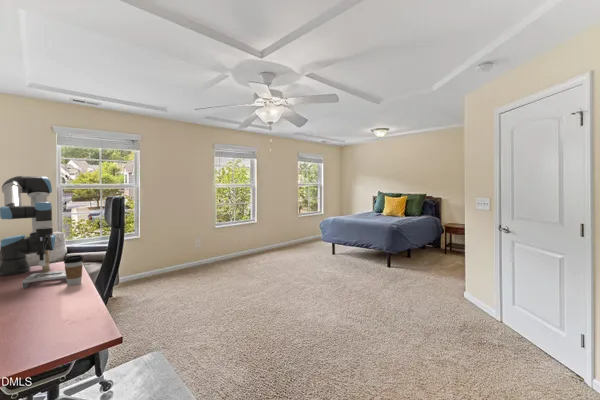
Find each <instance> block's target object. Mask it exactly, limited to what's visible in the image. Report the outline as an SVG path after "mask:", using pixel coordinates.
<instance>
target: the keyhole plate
mask: <svg viewBox="0 0 600 400" xmlns="http://www.w3.org/2000/svg"><path fill="white" fill-rule="evenodd" d="M41 276H44V277H41ZM57 279H64V280H65V283H66V284H67V278H66V272H65V269H64V270H63V269H62V270H53V271H50V272H44V273H43V272H36V273H32V274H30V275H29V276H27V277H25V278H24V279H23V280H22V281H21V284H22V285H21V286H22V287H21V288H22V289H27V288H29V287H30V283H34V282H41V281H49V280H57Z"/></svg>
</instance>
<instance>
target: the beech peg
mask: <svg viewBox="0 0 600 400" xmlns="http://www.w3.org/2000/svg"><path fill="white" fill-rule="evenodd" d="M44 254H45V264H46V265H45V266H41V268H42V273H44V272H51V270H50V261H49V250H45V253H44ZM41 277H44V276H41Z"/></svg>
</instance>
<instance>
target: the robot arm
mask: <svg viewBox="0 0 600 400" xmlns="http://www.w3.org/2000/svg"><path fill="white" fill-rule="evenodd" d="M1 192H2V193H3V197H4V198H3V199H4V200H3V201H4V203H3V205H4V206H0V219H1V220H15V219H16V220H17V219H31V224H32V225H31V230H32V231H31V232H30V233H29V236H26V235H25V234H20V235H14V236H8V237H5V238H4V237H3V238H2V239H1V240H0V276H11V275H19V274H23V273H27V272H30V271H31V266H30V264H29V261H28V259H27V255H28V256H29V255H36V256H38V266H39V267H42V266H45V265H46V264H45V254H44V253H45V250H49V262H52V261H53V254H52V252H53V251H54V250H55V244H56V234H53V233H54V231H53V230H54V229H53V212H52V211H53V206H52V202H49V201H48V197H49V196H50V194H52V192H53V188H52V182H51V180H50V178H49V177H48V176H41V175H39V176H33V175H31V176H29V175H27V176H25V175H19V176H18V175H17V176H14V177H11V178H9V179H7V180H5V182H3V184H2V186H1ZM21 194H26V195H27V197H28V198H30V205H22V195H21Z"/></svg>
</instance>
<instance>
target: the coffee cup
mask: <svg viewBox="0 0 600 400" xmlns="http://www.w3.org/2000/svg"><path fill="white" fill-rule="evenodd" d="M83 262H84V259H83V255H81V254H78V255H76V254H75V255H70V256H67V257H65V258H64V260H63V264H64V270H65V272H66V278H67V283H66V284H67V286H69V287H72V286H77V285H81V284H82V278H83V277H82V275H83Z"/></svg>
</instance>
